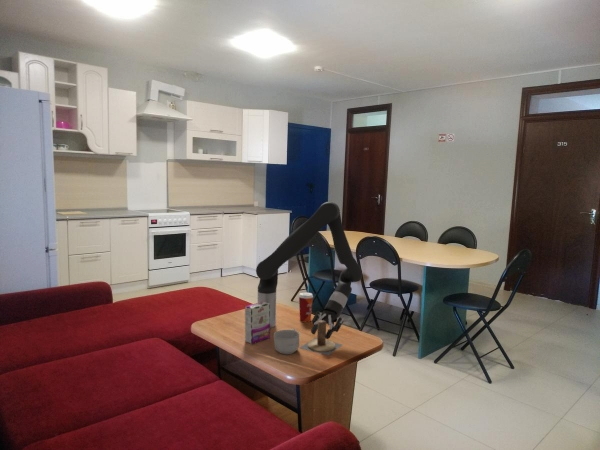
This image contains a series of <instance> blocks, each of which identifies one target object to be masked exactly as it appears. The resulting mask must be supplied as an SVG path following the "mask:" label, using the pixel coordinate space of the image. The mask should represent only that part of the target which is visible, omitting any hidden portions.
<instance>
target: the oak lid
mask: <svg viewBox="0 0 600 450" xmlns="http://www.w3.org/2000/svg"><path fill="white" fill-rule="evenodd" d="M326 331H327V324H326V321H324V320H320V321H318V329H317V337H316V338H317V339H314V338H313V339H314V340H313V339H311V340H309V341H308V342H307V343H308V348H309V349H311V350H313V351H318V352H328V351H332V350H334V349H335V343H336V342H334V341H332V340H329V339H326V338H325V335H326V333H327V332H326Z"/></svg>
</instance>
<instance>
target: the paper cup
mask: <svg viewBox="0 0 600 450" xmlns="http://www.w3.org/2000/svg"><path fill="white" fill-rule="evenodd" d="M313 298H314V295H313V293H312V292H300V293H299V294H298V300H299V301H298V302H299V320H300V321H301V322H304V323H307V322H312V312H313V311H312V308H313Z"/></svg>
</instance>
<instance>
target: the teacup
mask: <svg viewBox="0 0 600 450" xmlns="http://www.w3.org/2000/svg"><path fill="white" fill-rule="evenodd" d="M273 340H274V341H273V344H274V349H275V350H276V351H277V352H278V353H280V354H282V355H291V354H294V353H296V351H298V350H299V349H300V333H299V331H298V330H296V329H295V328H291V329H281V330H277V331H275V332H274V333H273Z"/></svg>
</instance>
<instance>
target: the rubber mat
mask: <svg viewBox="0 0 600 450" xmlns="http://www.w3.org/2000/svg"><path fill="white" fill-rule="evenodd" d="M314 339H317V337H314V338H313V339H312V340H314ZM334 343H335V349H334V350H332V351H328V352H318V351H313V350H311V349H309V348H308V342H306V343H305V344H303V345H302V346H299V349H302V350H305V351H309V352H312V353H316V354H320V355H325V356H330V355H331V354H333V352H335V351H336V350H338V349H340V347H342V346H343V343H342V344H341V343H338V342H334Z"/></svg>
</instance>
